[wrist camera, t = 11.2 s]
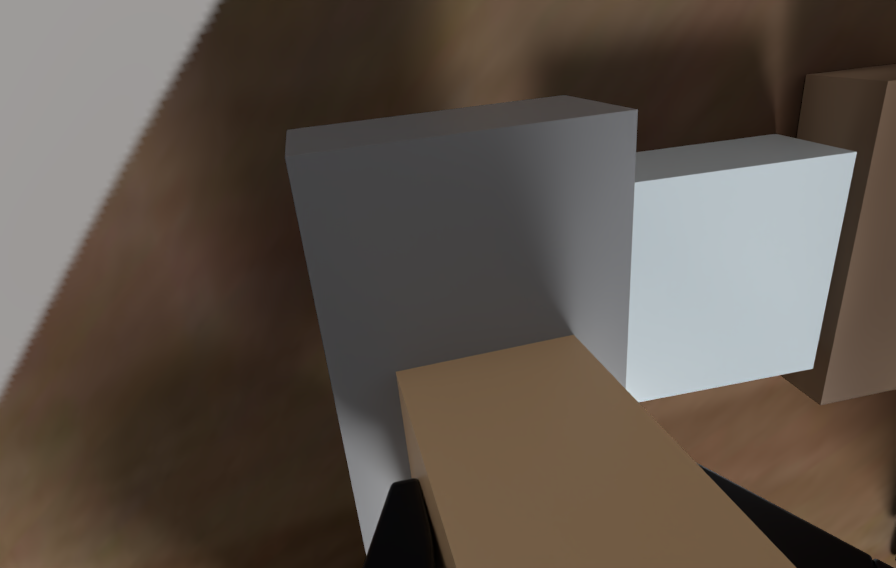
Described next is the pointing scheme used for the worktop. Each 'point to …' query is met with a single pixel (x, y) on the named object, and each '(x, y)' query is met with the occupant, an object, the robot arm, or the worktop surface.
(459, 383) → the tan block grey base
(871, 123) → the stop bar
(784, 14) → the worktop surface
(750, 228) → the tile
